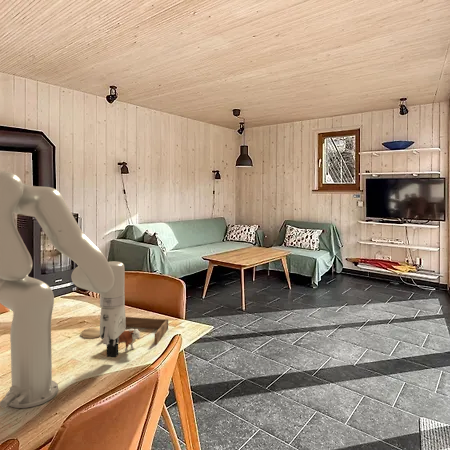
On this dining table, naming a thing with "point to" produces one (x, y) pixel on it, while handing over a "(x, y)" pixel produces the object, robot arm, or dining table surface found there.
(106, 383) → the dining table surface
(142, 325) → the walnut tray
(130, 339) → the bull figurine
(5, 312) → the dining table surface
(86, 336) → the oak coaster
